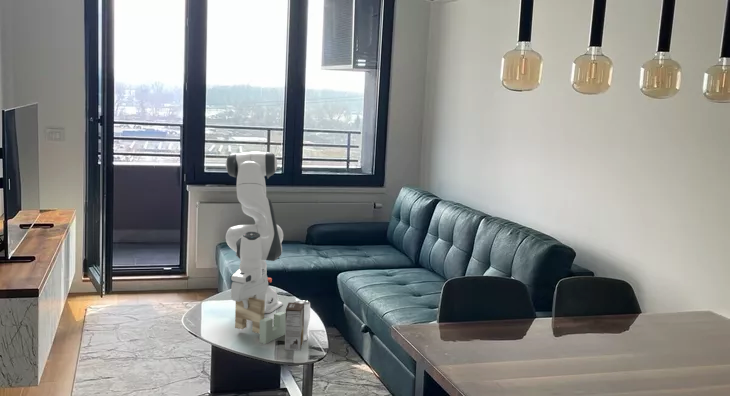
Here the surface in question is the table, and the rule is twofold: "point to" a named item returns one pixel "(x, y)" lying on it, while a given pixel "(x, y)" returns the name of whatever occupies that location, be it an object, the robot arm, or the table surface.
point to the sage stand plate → (272, 328)
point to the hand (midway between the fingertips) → (249, 306)
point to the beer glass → (305, 318)
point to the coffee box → (294, 326)
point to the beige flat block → (250, 314)
